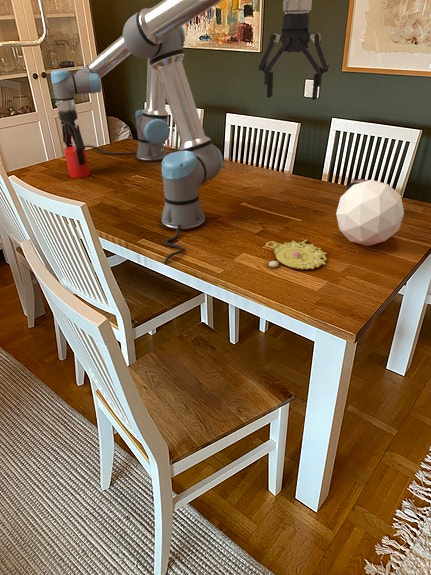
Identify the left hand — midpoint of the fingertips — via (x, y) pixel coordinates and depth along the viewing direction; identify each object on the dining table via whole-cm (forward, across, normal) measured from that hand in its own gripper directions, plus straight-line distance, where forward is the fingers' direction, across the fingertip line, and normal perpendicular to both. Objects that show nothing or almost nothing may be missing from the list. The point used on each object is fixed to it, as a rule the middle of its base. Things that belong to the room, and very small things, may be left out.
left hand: (77, 161), depth 201 cm
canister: (+6, 0, 0) cm, 6 cm away
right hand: (-35, +101, +29) cm, 111 cm away
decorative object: (+6, +119, +15) cm, 120 cm away
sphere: (+6, +127, +39) cm, 133 cm away
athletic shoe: (+6, +111, +62) cm, 127 cm away
